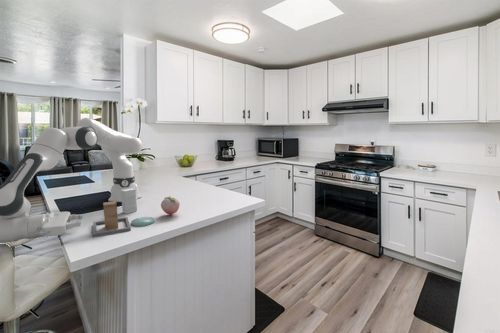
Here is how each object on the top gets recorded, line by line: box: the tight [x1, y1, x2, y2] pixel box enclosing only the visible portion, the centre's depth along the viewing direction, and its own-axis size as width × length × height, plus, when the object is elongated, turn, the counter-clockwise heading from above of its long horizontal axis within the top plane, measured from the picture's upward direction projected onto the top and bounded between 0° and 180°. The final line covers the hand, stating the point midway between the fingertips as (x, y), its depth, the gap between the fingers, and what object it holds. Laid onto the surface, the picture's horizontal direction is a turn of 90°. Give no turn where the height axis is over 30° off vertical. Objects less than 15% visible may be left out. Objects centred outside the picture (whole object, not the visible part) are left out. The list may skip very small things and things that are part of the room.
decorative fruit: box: [160, 196, 181, 216], centre depth 133 cm, size 9×8×10 cm
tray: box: [92, 216, 132, 238], centre depth 116 cm, size 16×14×1 cm
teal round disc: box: [130, 216, 156, 227], centre depth 123 cm, size 10×10×1 cm
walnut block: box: [102, 201, 119, 231], centre depth 116 cm, size 5×5×11 cm
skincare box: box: [121, 188, 138, 214], centre depth 138 cm, size 6×4×12 cm
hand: (81, 219), depth 111 cm, fingers open, 8 cm apart
